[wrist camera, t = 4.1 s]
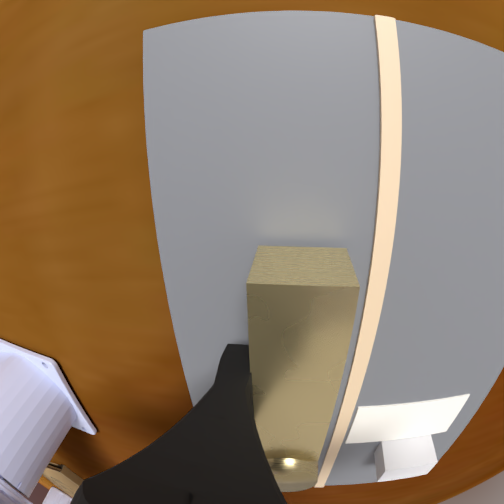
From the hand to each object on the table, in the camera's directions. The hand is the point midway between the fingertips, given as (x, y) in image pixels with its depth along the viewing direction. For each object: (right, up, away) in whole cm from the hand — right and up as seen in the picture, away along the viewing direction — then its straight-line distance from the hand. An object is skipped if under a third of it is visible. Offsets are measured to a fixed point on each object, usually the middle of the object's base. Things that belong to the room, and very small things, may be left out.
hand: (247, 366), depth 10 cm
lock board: (+5, 0, +2) cm, 5 cm away
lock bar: (+2, -1, +1) cm, 2 cm away
